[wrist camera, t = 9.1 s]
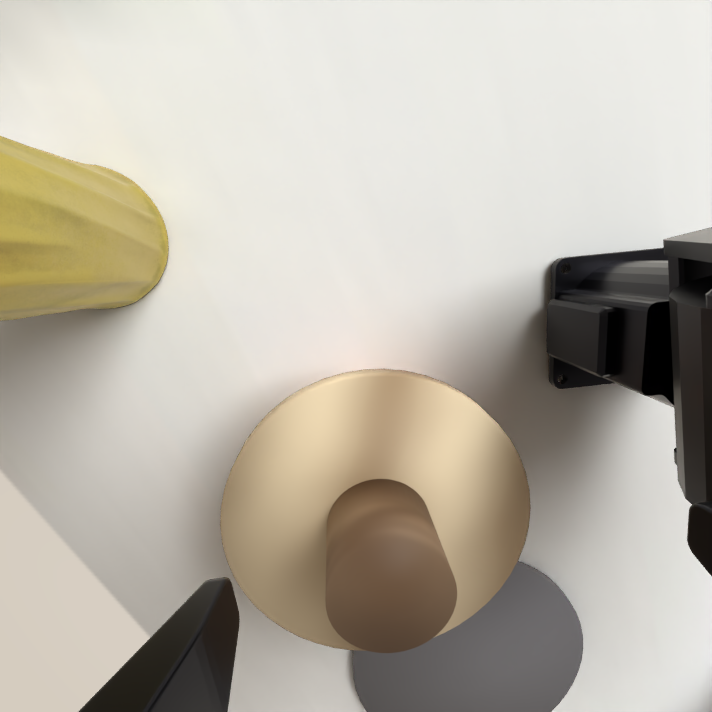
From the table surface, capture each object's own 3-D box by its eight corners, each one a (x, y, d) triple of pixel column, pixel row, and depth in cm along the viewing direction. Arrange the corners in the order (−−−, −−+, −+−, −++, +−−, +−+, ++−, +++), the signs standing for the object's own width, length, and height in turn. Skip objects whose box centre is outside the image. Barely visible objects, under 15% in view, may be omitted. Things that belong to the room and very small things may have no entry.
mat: (581, 541, 23) (587, 548, 23) (573, 723, 26) (578, 733, 26) (341, 571, 23) (342, 579, 22) (363, 752, 26) (364, 764, 25)
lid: (519, 353, 15) (595, 390, 11) (518, 611, 18) (577, 723, 14) (202, 386, 15) (148, 438, 10) (251, 645, 18) (224, 772, 13)
